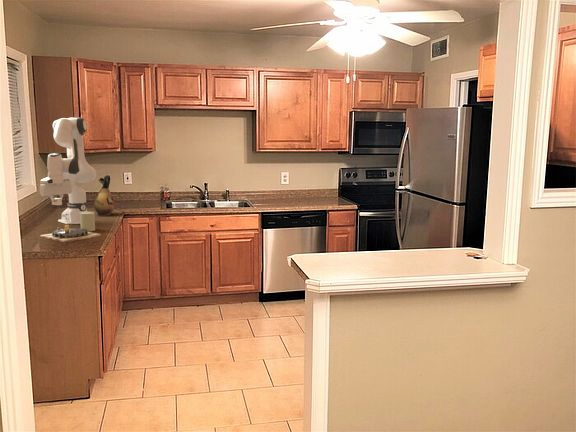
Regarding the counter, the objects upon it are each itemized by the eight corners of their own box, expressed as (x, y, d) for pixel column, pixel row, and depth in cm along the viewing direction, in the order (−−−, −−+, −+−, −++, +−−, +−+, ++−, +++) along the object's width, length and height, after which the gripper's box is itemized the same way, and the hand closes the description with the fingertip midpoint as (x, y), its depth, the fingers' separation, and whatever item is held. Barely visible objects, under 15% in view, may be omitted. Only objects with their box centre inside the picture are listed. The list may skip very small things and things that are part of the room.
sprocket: (47, 237, 321) (47, 226, 319) (57, 230, 340) (57, 220, 339) (83, 237, 323) (83, 226, 322) (91, 231, 343) (90, 220, 342)
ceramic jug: (108, 217, 401) (107, 176, 396) (90, 215, 404) (88, 175, 399) (120, 213, 417) (119, 174, 412) (102, 212, 420) (100, 174, 415)
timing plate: (39, 236, 328) (39, 230, 327) (74, 230, 349) (74, 224, 348) (65, 242, 315) (65, 235, 314) (100, 235, 336) (100, 229, 335)
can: (97, 230, 352) (97, 212, 350) (84, 232, 346) (83, 213, 344) (91, 228, 359) (91, 210, 357) (78, 229, 352) (77, 211, 350)
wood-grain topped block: (51, 204, 336) (51, 198, 336) (56, 204, 339) (55, 197, 338) (57, 205, 333) (57, 198, 332) (62, 204, 336) (61, 198, 335)
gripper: (67, 178, 344) (68, 200, 346) (37, 180, 327) (38, 203, 329) (73, 179, 341) (74, 201, 343) (43, 181, 324) (44, 204, 326)
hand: (56, 202), depth 336 cm, fingers closed on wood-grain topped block, 3 cm apart
